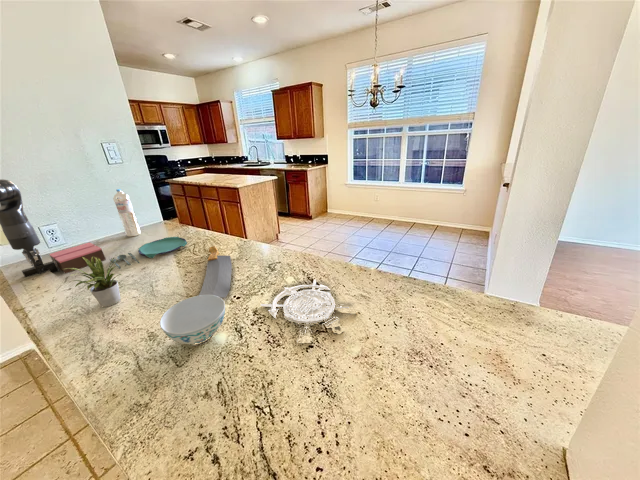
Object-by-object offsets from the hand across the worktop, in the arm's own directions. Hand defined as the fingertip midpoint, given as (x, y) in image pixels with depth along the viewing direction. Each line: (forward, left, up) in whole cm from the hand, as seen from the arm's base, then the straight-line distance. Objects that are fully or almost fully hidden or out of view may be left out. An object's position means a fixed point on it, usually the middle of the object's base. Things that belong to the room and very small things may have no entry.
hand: (42, 274), depth 105 cm
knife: (+7, 0, 0) cm, 7 cm away
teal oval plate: (+33, -19, 0) cm, 38 cm away
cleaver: (+37, -62, 0) cm, 72 cm away
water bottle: (+40, +16, 0) cm, 43 cm away
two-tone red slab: (+12, 0, 0) cm, 12 cm away
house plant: (+6, -46, 0) cm, 46 cm away
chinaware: (+13, -87, 0) cm, 88 cm away
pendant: (+37, -105, 0) cm, 111 cm away
